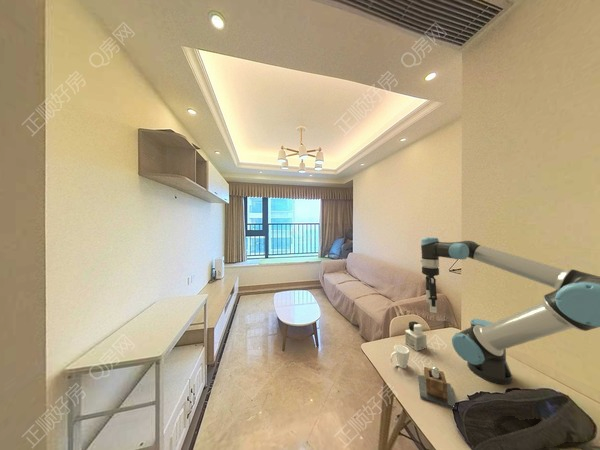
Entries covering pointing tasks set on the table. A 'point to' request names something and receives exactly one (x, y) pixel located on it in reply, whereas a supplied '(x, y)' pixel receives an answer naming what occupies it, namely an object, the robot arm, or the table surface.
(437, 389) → the collar
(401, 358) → the cup
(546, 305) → the robot arm
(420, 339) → the container
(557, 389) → the table surface
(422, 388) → the post stand
